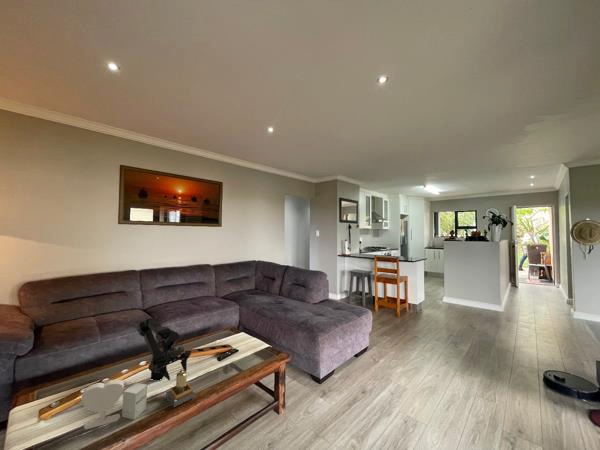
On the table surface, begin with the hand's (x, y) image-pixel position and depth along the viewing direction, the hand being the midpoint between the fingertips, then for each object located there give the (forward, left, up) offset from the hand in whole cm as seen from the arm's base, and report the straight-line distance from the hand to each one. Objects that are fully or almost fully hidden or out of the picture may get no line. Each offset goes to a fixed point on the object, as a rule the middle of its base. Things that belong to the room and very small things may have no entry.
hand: (177, 376), depth 138 cm
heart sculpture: (-28, -16, -11) cm, 34 cm away
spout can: (+3, -3, -7) cm, 8 cm away
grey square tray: (+3, -3, -10) cm, 11 cm away
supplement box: (-16, -12, -11) cm, 23 cm away
